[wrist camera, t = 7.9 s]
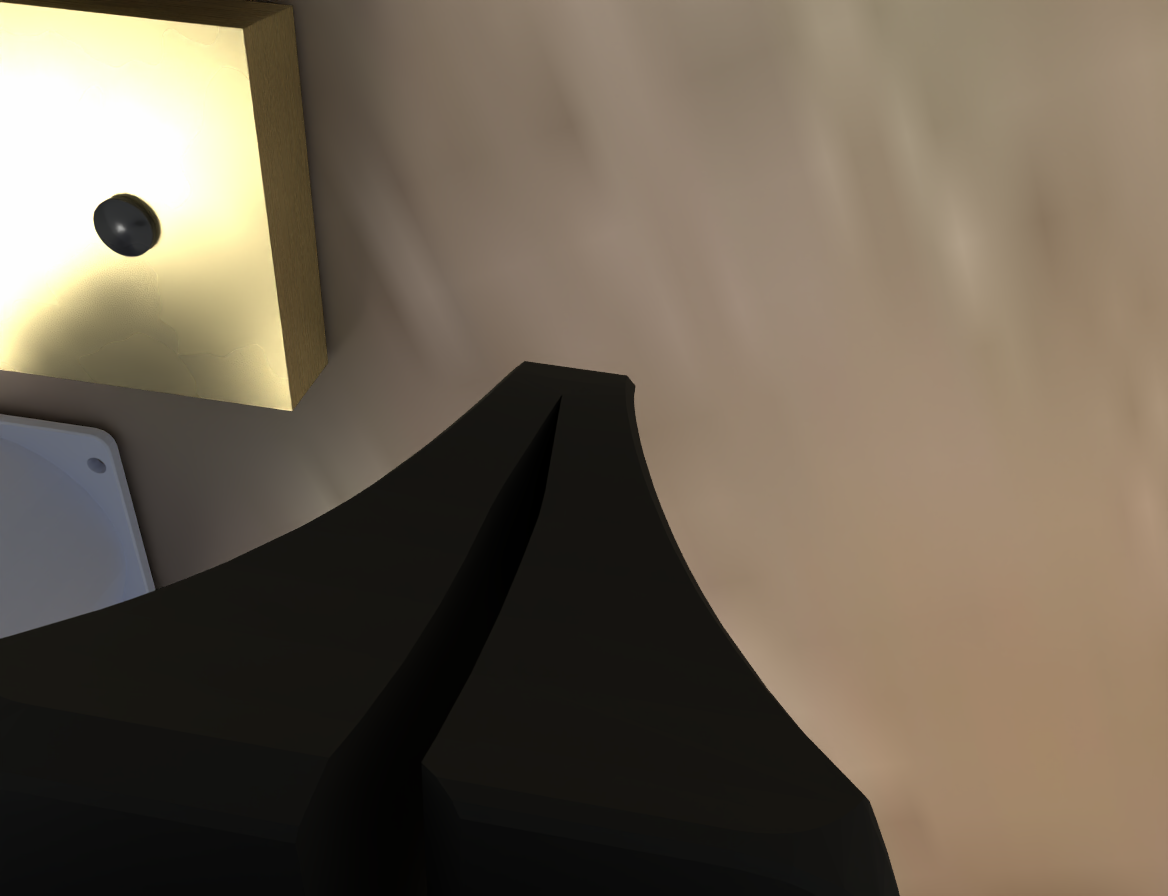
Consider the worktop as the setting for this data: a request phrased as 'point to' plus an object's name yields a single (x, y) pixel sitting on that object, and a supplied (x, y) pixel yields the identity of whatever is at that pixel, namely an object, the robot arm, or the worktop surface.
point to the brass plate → (157, 199)
